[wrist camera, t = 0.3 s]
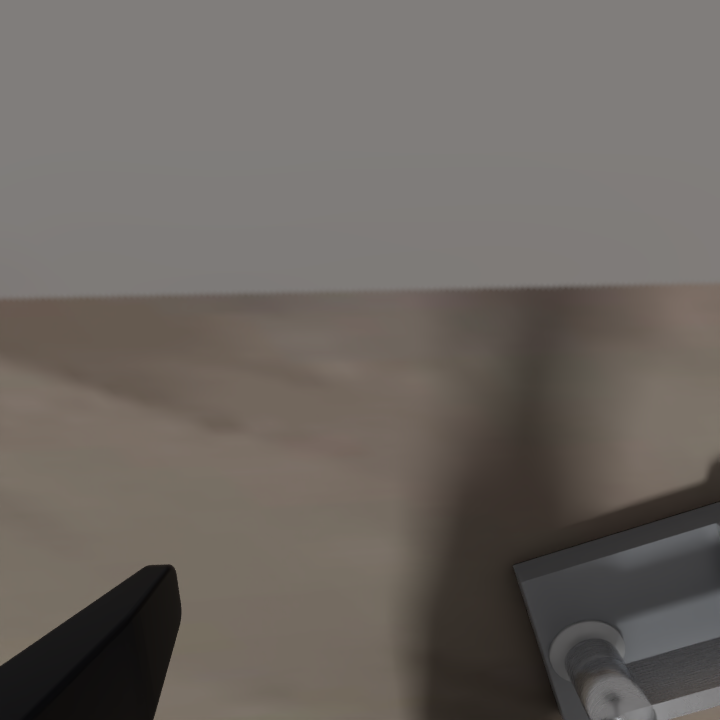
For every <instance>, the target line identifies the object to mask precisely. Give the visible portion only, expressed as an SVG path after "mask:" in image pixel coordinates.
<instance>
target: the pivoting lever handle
mask: <svg viewBox="0 0 720 720" xmlns="http://www.w3.org/2000/svg"><path fill="white" fill-rule="evenodd" d="M564 665H565V670H566V672H567V674H568V676H569V678H570V680H571V682H572V684H573V686H574V688H575V691H576V693H577V695H578V697H579V699H580V701H581V703H582V705H583V707H584V709H585V711H586V713H587V715H588V718H589V720H668V719H672V718H676V717H679V716H683V715H686V714H690V713H694V712H697V711H701V710H705V709H708V708H712V707H715V706H719V705H720V637H717V638H714V639H711V640H707V641H704V642H700V643H697V644H693V645H690V646H686V647H683V648H679V649H676V650H672V651H669V652H665V653H662V654H658V655H655V656H651V657H648V658H644V659H641V660H637V661H634V662H630V663H627V664H626V663H625V661H624V660H623V658H622V657H621V655H620V653H619V652H618V650H617V649H616V647H615V646H614V645H613V644H612V643H610V642H608V641H606V640H603V639H588V640H584V641H582V642H579V643H578V644H576V645H575V646H573V647H572V648H571V649H570V650H569V652H568V653H567V655H566V657H565V662H564Z"/></svg>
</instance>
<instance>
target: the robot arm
mask: <svg viewBox="0 0 720 720" xmlns="http://www.w3.org/2000/svg"><path fill="white" fill-rule="evenodd" d="M180 622H181V601H180V595H179V588H178V581H177V574H176V570H175V568H174V567H173V566H172V565H169V564H168V565H148V566H146V567H144V568H142V569H141V570H139V571H138V572H137V573H135V574H134V575H132V576H131V577H129V578H128V579H126V580H125V581H123V582H122V583H121V584H119V585H118V586H116V587H115V588H113V589H112V590H110V591H109V592H108V593H106V594H105V595H103V596H102V597H100V598H99V599H97V600H96V601H94V602H93V603H92V604H90V605H89V606H87V607H86V608H84V609H83V610H81V611H80V612H78V613H77V614H76V615H74V616H73V617H71V618H70V619H68V620H67V621H65V622H64V623H62V624H61V625H60V626H58V627H57V628H55V629H54V630H52V631H51V632H49V633H48V634H46V635H45V636H44V637H42V638H41V639H39V640H38V641H36V642H35V643H33V644H32V645H30V646H29V647H28V648H26V649H25V650H23V651H22V652H20V653H19V654H17V655H16V656H14V657H13V658H12V659H10V660H9V661H7V662H6V663H4V664H3V665H1V666H0V720H153V719H154V716H155V712H156V709H157V705H158V702H159V698H160V695H161V691H162V687H163V684H164V680H165V677H166V673H167V669H168V666H169V662H170V659H171V655H172V651H173V648H174V644H175V641H176V637H177V633H178V630H179V626H180Z"/></svg>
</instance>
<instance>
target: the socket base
mask: <svg viewBox="0 0 720 720" xmlns="http://www.w3.org/2000/svg"><path fill="white" fill-rule="evenodd" d="M513 568H514V571H515V574H516V577H517V580H518V583H519V587H520V590H521V593H522V596H523V599H524V602H525V605H526V609H527V612H528V615H529V618H530V621H531V624H532V627H533V630H534V634H535V637H536V640H537V643H538V646H539V649H540V652H541V655H542V659H543V662H544V665H545V668H546V671H547V674H548V677H549V680H550V684H551V687H552V690H553V693H554V696H555V699H556V702H557V705H558V709H559V712H560V714H561V716H562V719H563V720H589V718H588V715H587V713H586V711H585V709H584V707H583V705H582V703H581V701H580V699H579V697H578V695H577V693H576V691H575V688H574V686H573V684H572V682H571V680H570V678H569V676H568V674H567V672H566V670H565V665H564V662H565V657H566V655H567V653H568V652H569V650H570V649H571V648H572V647H573V646H575V645H576V644H578V643H579V642H582V641H584V640H588V639H603V640H606V641H608V642H610V643H612V644H613V645H614V646H615V647H616V649H617V650H618V652H619V653H620V655H621V657H622V658H623V660H624V661H625V663H626V664H627V663H630V662H634V661H637V660H641V659H644V658H648V657H651V656H655V655H658V654H662V653H665V652H669V651H672V650H676V649H679V648H683V647H686V646H690V645H693V644H697V643H700V642H704V641H707V640H711V639H714V638H717V637H720V502H717V503H714V504H711V505H708V506H704V507H701V508H698V509H695V510H691V511H688V512H685V513H682V514H678V515H675V516H672V517H669V518H665V519H662V520H659V521H656V522H652V523H649V524H646V525H643V526H639V527H636V528H633V529H630V530H626V531H623V532H620V533H617V534H613V535H610V536H607V537H604V538H600V539H597V540H594V541H591V542H587V543H584V544H581V545H577V546H574V547H571V548H568V549H564V550H561V551H558V552H555V553H551V554H548V555H545V556H542V557H538V558H535V559H532V560H529V561H525V562H522V563H519V564H516V565H513Z"/></svg>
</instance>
